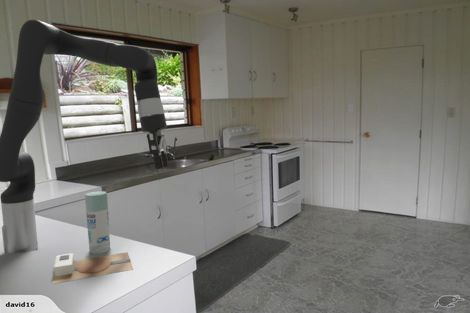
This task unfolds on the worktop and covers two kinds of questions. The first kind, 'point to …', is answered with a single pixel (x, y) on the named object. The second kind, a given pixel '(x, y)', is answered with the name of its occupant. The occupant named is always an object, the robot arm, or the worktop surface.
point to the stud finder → (64, 264)
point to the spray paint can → (97, 222)
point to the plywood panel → (97, 267)
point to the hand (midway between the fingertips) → (162, 167)
